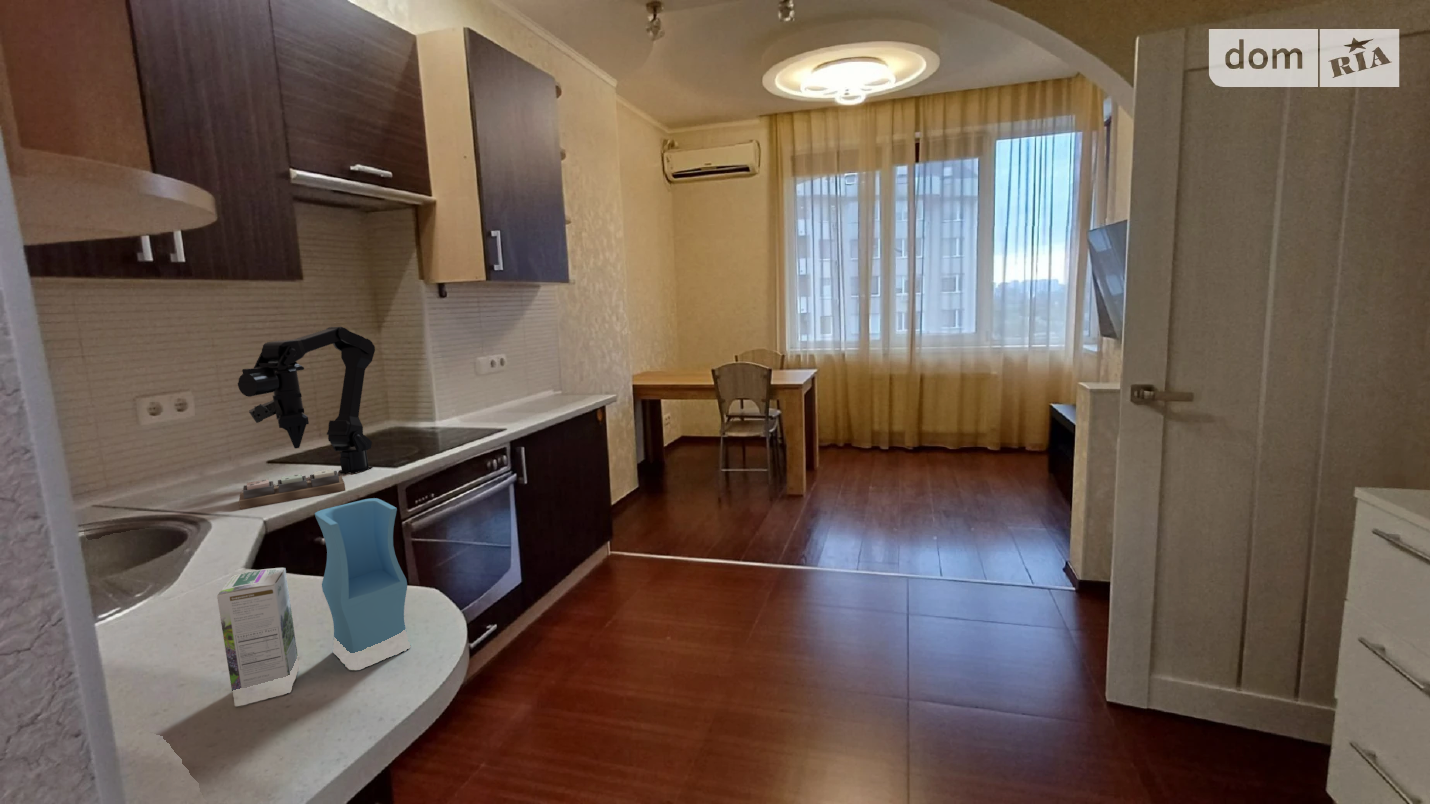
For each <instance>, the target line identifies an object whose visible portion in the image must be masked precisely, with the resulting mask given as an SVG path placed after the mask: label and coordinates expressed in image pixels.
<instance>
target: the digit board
mask: <svg viewBox="0 0 1430 804" xmlns="http://www.w3.org/2000/svg"><path fill="white" fill-rule="evenodd" d="M333 471H334V474H335V475H334V476H328V477H322V478H316V479H314V473H313V474H309V477H310V478H309V479H310V480H309V481H307V477H306V475H302V479H303V481H298V482H292V483H286V484H282V482H281V479H277V486H274V480H272V481H270V480H269V485H270V486H268V487H262V488H256V489H250V490H247V484H246V485H243V488H242V489H243V490H242V492H240V493H239V499H238V504H239V509H240V510H245V509H250V508H256V507H261V506H266V505H272V504H277V503H284V502H288V501H294V500H300V499H305V498H310V497H317V496H321V495H326V494H333V493H337V492H343V491H346V483H345V481H344V479H343V477H342V475H339V474H338V473H339V472H337V471H338V470H333Z"/></svg>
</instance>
